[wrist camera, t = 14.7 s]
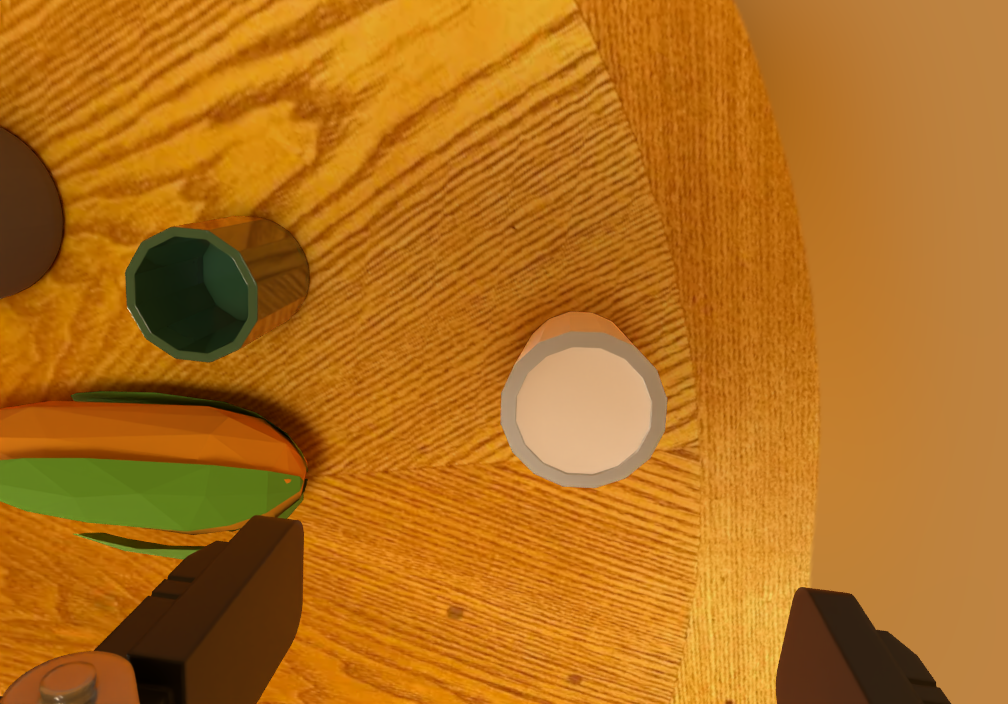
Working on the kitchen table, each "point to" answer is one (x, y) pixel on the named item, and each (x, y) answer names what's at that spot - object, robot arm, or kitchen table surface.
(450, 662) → the kitchen table surface
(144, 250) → the green faceted cup
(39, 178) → the mug
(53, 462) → the corn
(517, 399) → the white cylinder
